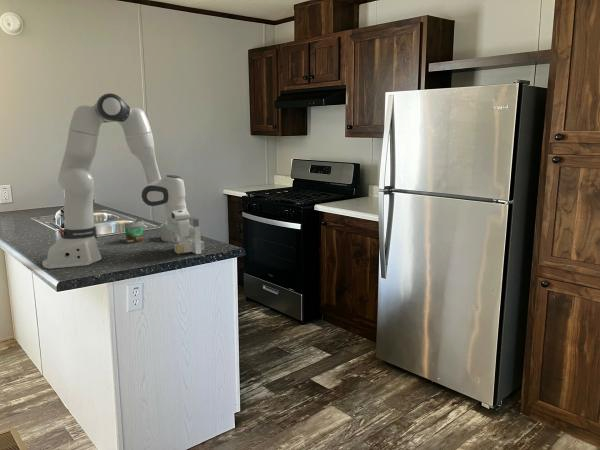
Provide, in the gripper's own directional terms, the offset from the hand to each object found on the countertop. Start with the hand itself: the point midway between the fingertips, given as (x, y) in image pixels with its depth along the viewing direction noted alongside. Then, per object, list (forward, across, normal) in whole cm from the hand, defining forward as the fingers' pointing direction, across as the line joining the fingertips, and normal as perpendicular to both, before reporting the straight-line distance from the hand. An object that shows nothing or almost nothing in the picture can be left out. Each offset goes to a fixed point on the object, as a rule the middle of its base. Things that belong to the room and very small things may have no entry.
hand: (178, 243), depth 225 cm
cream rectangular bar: (+4, 0, +5) cm, 6 cm away
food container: (+4, -32, -10) cm, 34 cm away
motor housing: (+4, 0, +6) cm, 8 cm away
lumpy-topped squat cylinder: (+4, -28, +6) cm, 29 cm away
